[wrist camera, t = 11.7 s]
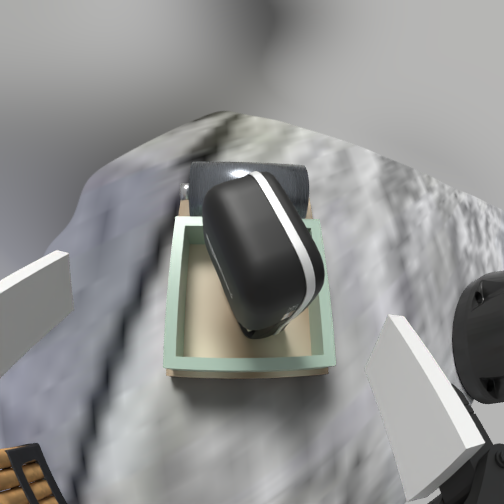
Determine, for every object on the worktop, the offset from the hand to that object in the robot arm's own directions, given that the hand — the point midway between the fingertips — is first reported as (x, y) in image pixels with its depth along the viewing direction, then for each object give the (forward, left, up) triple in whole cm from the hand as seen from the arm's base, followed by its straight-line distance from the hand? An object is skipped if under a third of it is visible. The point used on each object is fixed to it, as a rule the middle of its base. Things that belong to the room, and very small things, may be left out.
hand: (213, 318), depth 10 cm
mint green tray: (-2, -6, -12) cm, 14 cm away
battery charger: (-2, -4, -11) cm, 12 cm away
